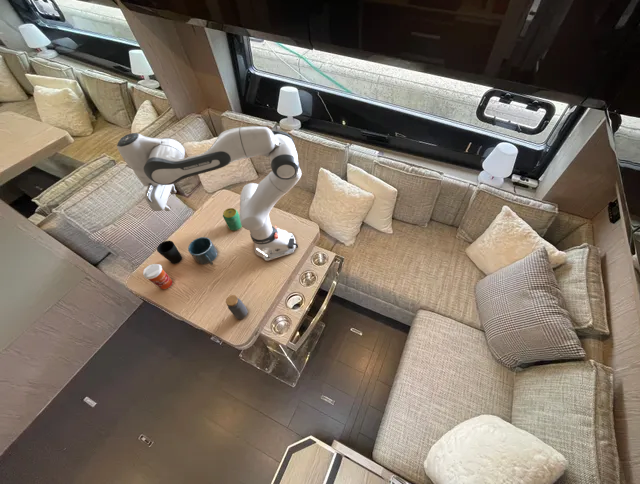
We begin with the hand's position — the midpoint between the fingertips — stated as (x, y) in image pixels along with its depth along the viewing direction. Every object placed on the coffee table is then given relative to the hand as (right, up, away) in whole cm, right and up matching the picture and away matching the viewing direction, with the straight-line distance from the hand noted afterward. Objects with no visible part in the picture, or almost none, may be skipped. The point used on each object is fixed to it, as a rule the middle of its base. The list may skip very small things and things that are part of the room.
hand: (171, 201), depth 112 cm
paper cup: (-19, -40, +25) cm, 51 cm away
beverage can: (+5, -12, +50) cm, 51 cm away
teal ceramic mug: (-4, -28, +35) cm, 45 cm away
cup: (-20, -29, +34) cm, 49 cm away
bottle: (+21, -52, +17) cm, 58 cm away
